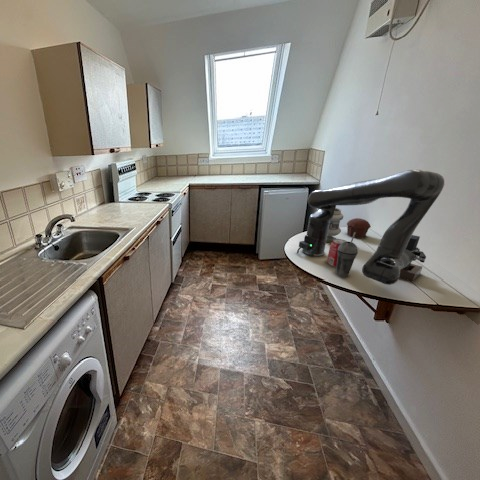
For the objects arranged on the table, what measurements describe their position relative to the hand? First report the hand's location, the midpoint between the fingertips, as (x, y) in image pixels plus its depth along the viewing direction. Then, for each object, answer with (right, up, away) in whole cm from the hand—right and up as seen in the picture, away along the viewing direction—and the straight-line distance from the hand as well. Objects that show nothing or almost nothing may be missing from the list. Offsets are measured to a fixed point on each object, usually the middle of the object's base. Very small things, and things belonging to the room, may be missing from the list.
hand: (411, 248), depth 114 cm
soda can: (-25, -8, +12) cm, 29 cm away
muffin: (+9, +6, +45) cm, 46 cm away
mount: (-2, -11, +3) cm, 11 cm away
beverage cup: (-27, -12, +4) cm, 30 cm away
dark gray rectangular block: (-2, -9, +2) cm, 9 cm away
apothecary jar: (-10, +4, +42) cm, 43 cm away
